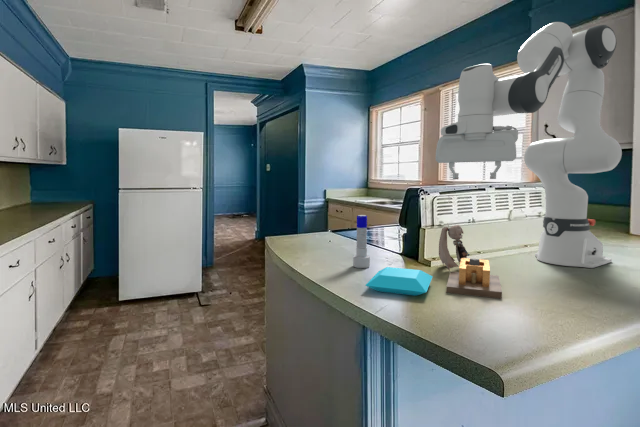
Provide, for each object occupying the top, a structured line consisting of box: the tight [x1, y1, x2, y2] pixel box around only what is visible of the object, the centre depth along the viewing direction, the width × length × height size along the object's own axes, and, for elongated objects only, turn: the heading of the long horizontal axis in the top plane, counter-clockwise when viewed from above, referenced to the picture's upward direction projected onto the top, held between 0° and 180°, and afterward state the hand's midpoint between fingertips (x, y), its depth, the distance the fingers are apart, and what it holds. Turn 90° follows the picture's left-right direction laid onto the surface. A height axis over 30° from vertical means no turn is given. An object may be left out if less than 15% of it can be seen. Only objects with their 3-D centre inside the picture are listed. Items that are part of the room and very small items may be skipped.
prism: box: [364, 266, 434, 297], centre depth 96 cm, size 14×14×5 cm
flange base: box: [445, 258, 503, 299], centre depth 97 cm, size 15×12×6 cm
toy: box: [438, 222, 471, 271], centre depth 115 cm, size 9×8×15 cm
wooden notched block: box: [458, 257, 491, 287], centre depth 98 cm, size 12×7×4 cm, turn 158°
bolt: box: [352, 214, 371, 269], centre depth 117 cm, size 16×5×5 cm
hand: (474, 179), depth 106 cm, fingers open, 8 cm apart
